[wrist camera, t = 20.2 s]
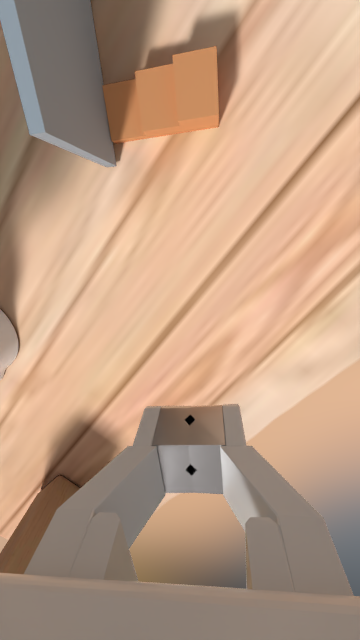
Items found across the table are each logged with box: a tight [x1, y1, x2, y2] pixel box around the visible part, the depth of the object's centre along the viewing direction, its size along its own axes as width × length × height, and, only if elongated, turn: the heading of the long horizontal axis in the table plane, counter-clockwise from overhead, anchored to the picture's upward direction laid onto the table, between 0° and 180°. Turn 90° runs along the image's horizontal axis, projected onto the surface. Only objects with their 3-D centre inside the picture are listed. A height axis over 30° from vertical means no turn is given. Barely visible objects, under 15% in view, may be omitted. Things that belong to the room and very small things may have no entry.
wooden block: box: [0, 476, 80, 574], centre depth 48 cm, size 10×10×20 cm
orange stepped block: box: [102, 46, 219, 143], centre depth 27 cm, size 12×5×4 cm, turn 96°
